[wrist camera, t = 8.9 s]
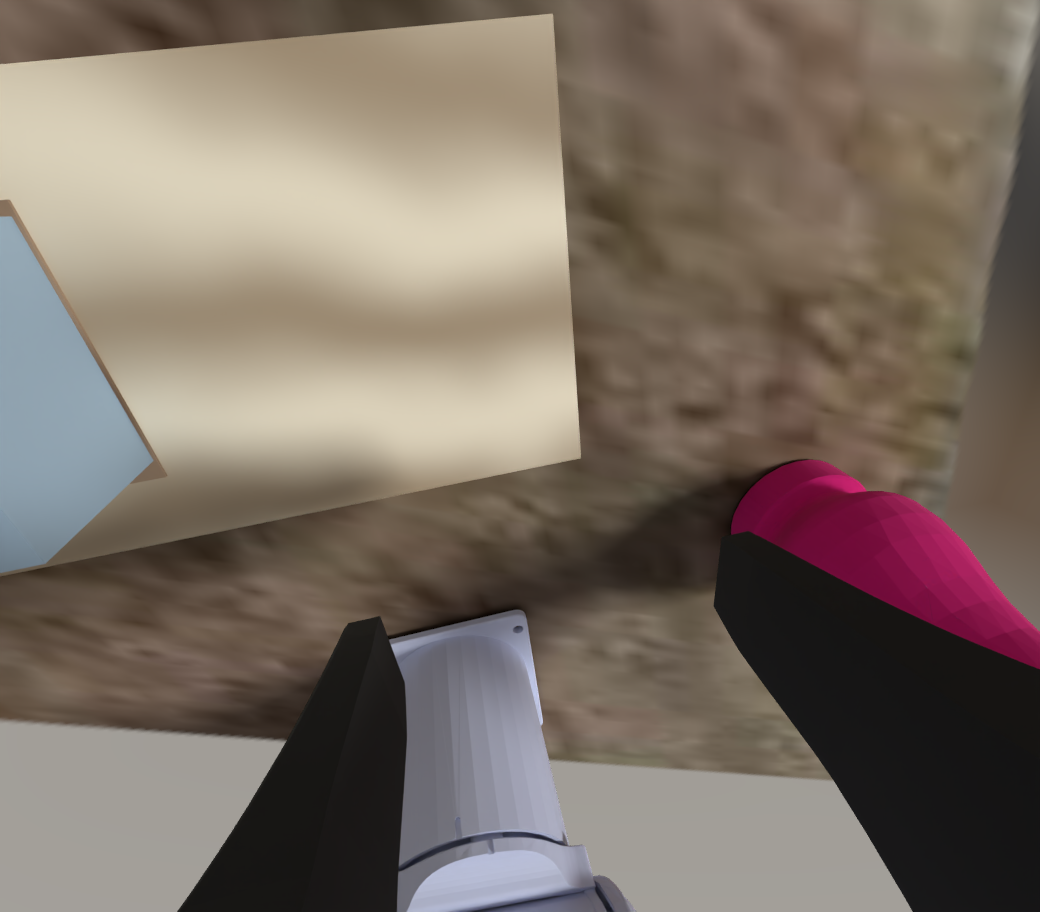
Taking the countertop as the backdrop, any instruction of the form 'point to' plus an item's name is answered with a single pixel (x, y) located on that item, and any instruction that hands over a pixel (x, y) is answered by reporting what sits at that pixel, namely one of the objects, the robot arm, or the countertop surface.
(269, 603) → the countertop surface
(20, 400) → the block
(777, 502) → the pepper mill
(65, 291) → the base plate
